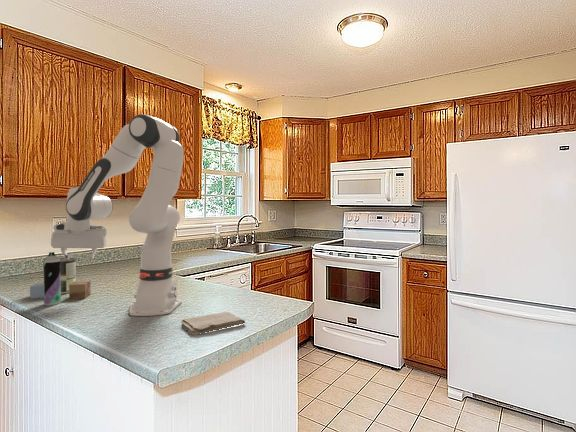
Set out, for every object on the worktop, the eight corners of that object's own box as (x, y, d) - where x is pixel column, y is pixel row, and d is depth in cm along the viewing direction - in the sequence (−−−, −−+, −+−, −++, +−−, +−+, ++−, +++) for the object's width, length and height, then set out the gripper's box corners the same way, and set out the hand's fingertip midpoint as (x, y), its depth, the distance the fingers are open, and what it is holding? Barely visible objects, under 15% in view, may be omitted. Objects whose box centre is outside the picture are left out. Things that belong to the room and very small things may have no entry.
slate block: (44, 297, 150) (44, 285, 150) (30, 298, 148) (30, 286, 148) (46, 294, 155) (46, 282, 155) (32, 295, 153) (32, 284, 153)
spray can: (48, 306, 137) (47, 253, 137) (41, 304, 140) (40, 252, 140) (63, 302, 142) (62, 251, 141) (56, 300, 145) (55, 250, 144)
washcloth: (178, 327, 117) (178, 317, 117) (228, 317, 128) (229, 308, 128) (192, 338, 108) (192, 328, 108) (245, 326, 118) (245, 317, 118)
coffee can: (52, 295, 153) (52, 262, 153) (45, 291, 160) (45, 259, 160) (79, 291, 161) (79, 259, 160) (72, 287, 168) (71, 256, 167)
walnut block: (85, 298, 149) (85, 284, 149) (69, 299, 148) (69, 284, 148) (90, 294, 155) (90, 280, 155) (75, 295, 154) (75, 281, 154)
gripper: (108, 225, 156) (108, 257, 156) (56, 224, 152) (56, 257, 152) (103, 226, 149) (103, 260, 150) (48, 225, 146) (48, 260, 146)
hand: (79, 258), depth 151 cm, fingers open, 8 cm apart
